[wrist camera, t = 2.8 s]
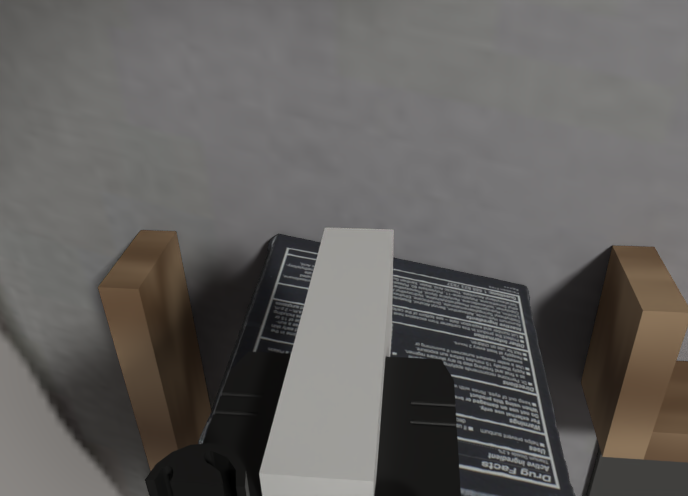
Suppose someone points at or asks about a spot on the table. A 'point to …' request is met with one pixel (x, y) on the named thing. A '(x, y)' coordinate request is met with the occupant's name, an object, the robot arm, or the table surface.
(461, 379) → the small box
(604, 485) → the mat
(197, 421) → the wooden frame pieces
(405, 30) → the table surface
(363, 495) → the robot arm
